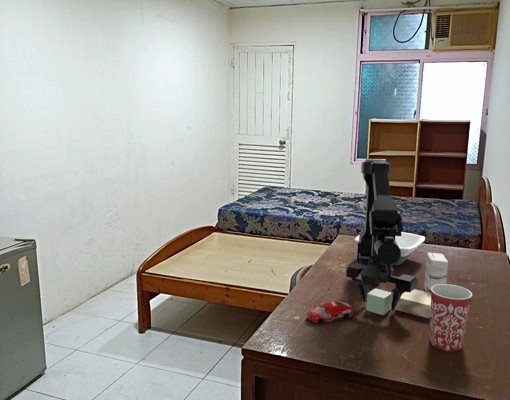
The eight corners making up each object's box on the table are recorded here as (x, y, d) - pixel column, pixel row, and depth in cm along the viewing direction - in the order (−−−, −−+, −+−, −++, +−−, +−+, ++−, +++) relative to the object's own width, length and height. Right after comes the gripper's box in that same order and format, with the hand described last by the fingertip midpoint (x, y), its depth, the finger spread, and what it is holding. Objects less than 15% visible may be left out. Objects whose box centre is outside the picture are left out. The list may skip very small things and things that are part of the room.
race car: (312, 326, 119) (313, 312, 118) (303, 317, 124) (303, 304, 123) (356, 318, 123) (357, 304, 122) (345, 310, 128) (346, 297, 127)
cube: (366, 310, 128) (367, 293, 127) (374, 304, 132) (375, 288, 131) (383, 315, 125) (384, 298, 124) (390, 309, 129) (392, 292, 128)
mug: (469, 356, 104) (475, 300, 102) (426, 350, 107) (431, 295, 104) (462, 331, 116) (468, 281, 113) (424, 326, 119) (428, 276, 116)
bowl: (348, 262, 169) (350, 239, 167) (371, 247, 187) (372, 227, 186) (409, 274, 156) (411, 250, 155) (427, 257, 175) (429, 236, 173)
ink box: (445, 299, 136) (449, 261, 133) (428, 298, 136) (431, 260, 134) (440, 289, 144) (443, 252, 142) (423, 287, 145) (426, 251, 143)
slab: (396, 310, 129) (396, 297, 128) (406, 300, 136) (407, 287, 135) (428, 319, 123) (430, 305, 123) (438, 308, 130) (439, 295, 130)
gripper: (337, 252, 125) (334, 306, 128) (404, 267, 113) (399, 326, 116) (356, 243, 133) (353, 294, 136) (420, 256, 122) (416, 311, 125)
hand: (378, 305), depth 128 cm, fingers open, 8 cm apart
